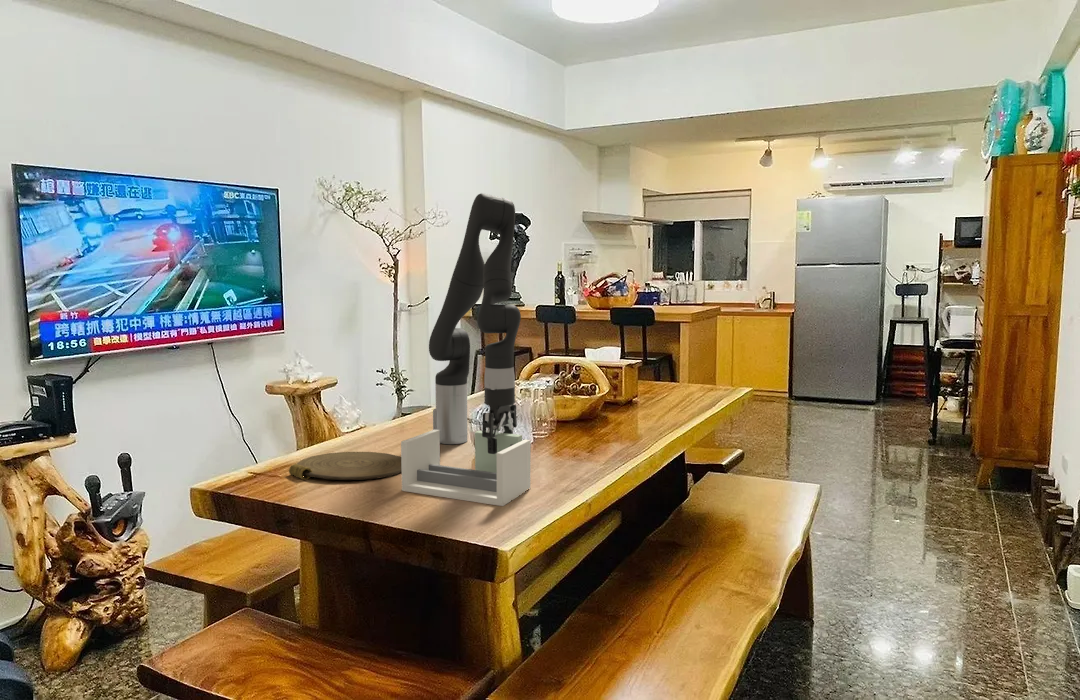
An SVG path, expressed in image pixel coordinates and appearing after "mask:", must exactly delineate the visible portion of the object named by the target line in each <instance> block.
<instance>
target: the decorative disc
mask: <svg viewBox="0 0 1080 700" xmlns="http://www.w3.org/2000/svg"><path fill="white" fill-rule="evenodd" d="M288 473H289V474H290V476H293V475H294V476H293V477H295V476H296V477H295V478H299V479H300V480H303V479H306V480H309V479H310V478H311V477H312V478H313V477H314V478H319V479H323V480H334V481H335V480H336V481H337V480H339V481H355V480H356V481H357V480H358V481H359V480H360V481H363V480H372V479H380V478H387V477H392V476H396V475H399V474H402V469H401V456H399V455H395V454H391V453H387V452H376V451H374V452H373V451H341V452H340V451H339V452H328V453H323V454H318V455H312V456H309V457H307V458H304V459H302V460H300V461H298V462H297V463H293V464H291V466H289V468H288ZM303 476H304V477H303ZM308 478H309V479H308Z"/></svg>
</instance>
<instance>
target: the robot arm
mask: <svg viewBox="0 0 1080 700" xmlns="http://www.w3.org/2000/svg"><path fill="white" fill-rule="evenodd" d="M515 223H516V207H515V203H514V202H513V201H512V200H510V199H508V198H506V197H505V198H504V197H501V196H496V195H492V194H488V193H482V192H481V193H479V194H477V195H476V196H475V198H474V199H473V203H472V205H471V208H470V212H469V216H468V221H467V225H466V230H465V233H464V237H463V241H462V245H461V248H460V252H459V255H458V256H457V257H458V258H457V261H456V264H455V267H454V269H453V272H452V275H451V278H450V283H449V285H448V290H447V293H446V295H445V299H444V301H443V305H442V308H441V310H440V313H439V315H438V317H437V320H436V322H435V324H434V326H433V329H432V330H431V334H430V337H429V340H428V352H429V355H430V357H431V359H433V360H435V361H437V362H446V361H447V362H448V361H449V362H448V365H447V366H446V367H445V368H444V369H442V370H440V371H439V372H437V373H436V374H435V380H434V381H435V383H434V384H435V408H433V410H432V427H433V428H432V430H440V445H441V444H443V445H459V444H464V443H467V442H468V435H469V433H468V377H469V373H470V363H471V362H470V360H471V359H470V357H471V342H470V340H471V339H470V337H469V334H468V332H467V330H465V329H464V328H461V327H459V328H458V327H457V325H458V324H459V322H460V320H461V319H462V318H463V317H464V316H465V315H466V314H467V313H468V312H469V311H470V310H471V309H472V308H473V307H474V306H475V305H476V304H477V302H478V301H479V300H480V298H481V296H482V301H481V304H480V306H479V310H478V314H477V319H476V322H477V327H478V328H479V331H481V332H482V333H484V334H505V336H504V338H503V339H501V340H499V341H496V342H491V343H489V344H486V346H485V349H484V364H485V365H484V366H485V367H484V374H483V375H484V378H483V379H484V380H483V381H484V382H483V383H484V386H483V387H484V389H483V390H484V404H485V406H489V411H488V412H483V413H482V418H481V419H482V420H481V421H482V422H481V423H482V425H481V427H482V429H481V431H482V437H486V438H487V439H488V453H489V454H496V453H497V439H496V438H497V435H498V432H499V433H500V432H501V430H503V432H502V433H508V434H513V432H514V431H515V430H514V429H515V428H517V425H518V424H517V423H518V421H517V420H518V419H517V405H516V404H515V403H516V386H515V385H516V379H515V377H516V376H515V375H516V374H515V367H514V365H515V363H514V362H515V361H514V358H515V356H514V354H515V353H514V351H515V343H516V338H517V335H518V331H519V328H520V325H521V319H522V318H521V317H522V316H521V311H520V309H519V308H518V307H517V306H516V305H515V304H498V303H501V302H505V301H507V300H509V299H510V298H511V296H512V293H513V287H512V285H513V284H512V270H511V269H512V254H513V246H514V245H513V244H514V234H515V225H516V224H515ZM482 231H487V232H492V233H497V234H499V241H498V243H497V245H496V247H495V248H494V249H493V251H492V252H491V253H490V255H489V256H488V258H487V259H486V261H484V259H483V254H482V252H481V249H480V248H481V247H480V235H481V232H482ZM482 293H483V295H482ZM486 431H487V432H486ZM493 432H494V434H493Z"/></svg>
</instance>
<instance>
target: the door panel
mask: <svg viewBox="0 0 1080 700" xmlns="http://www.w3.org/2000/svg"><path fill="white" fill-rule="evenodd" d="M486 432H487V430H486ZM493 434H494V431H493ZM496 439H497V453H498V452H500V451H502V450H504V449H506V448H508V447H510V446H512V445H514V444H516V443H518V442H521V441H523V434H515V433H512V434H508V433H503V432H500V431H499V432H498V435H497V438H496ZM497 453H496V454H489V453H488V439H487V438H486V437H482V430H477V431H475V432H474V462H475V463H474V470H479V471H487V472H495V473H497Z"/></svg>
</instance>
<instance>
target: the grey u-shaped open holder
mask: <svg viewBox="0 0 1080 700" xmlns="http://www.w3.org/2000/svg"><path fill="white" fill-rule="evenodd" d="M531 443H532V442H531V439H522V441H521V442H518V443H516V444H514V445H512V446H510V447H508V448H506V449H504V450H502V451H500V452H498V453H497V473H495V472H487V471H479V470H475V469H472V468H471V469H470V468H464V467H456V466H448V465H441V453H440V452H441V450H440V446H441V443H440V430H433V429H431V430H430V431H426V432H423V433H422V434H418V435H415V436H413V437H410V438H407V439H405V440H402V441H400V448H401V449H400V451H401V452H400V453H401V454H400V455H401V456H400V457H401V469H402V472H401V491H402V492H407V493H413V494H414V493H415V494H420V495H427V496H434V497H441V498H448V499H453V500H461V501H466V502H467V501H468V502H475V503H479V504H486V505H492V506H493V505H494V506H500V507H504V506H505V505H507V504H509V503H510V502H512V501H513V500H515V499H516V498H518V497H519V495H520V496H521V495H523V494H524V493H526V492H527V491H526V490H527V489H529V488H530V489H531ZM530 489H529V490H530ZM525 491H526V492H525ZM523 492H524V493H523ZM522 493H523V494H522ZM511 500H512V501H511Z"/></svg>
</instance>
